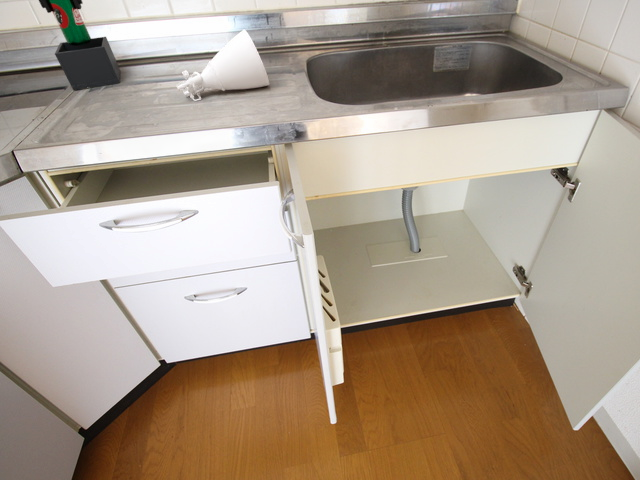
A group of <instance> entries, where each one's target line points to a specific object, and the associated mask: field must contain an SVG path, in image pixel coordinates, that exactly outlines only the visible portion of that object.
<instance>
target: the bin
mask: <svg viewBox="0 0 640 480" xmlns="http://www.w3.org/2000/svg"><path fill="white" fill-rule="evenodd" d="M54 56H55V57H56V59H57V61H58V64H59V65H60V67H61V69H62V71H63V73H64V75H65V77H66V80H67V81H68V84H69V85H70V87H71V89H72V91H74V90H75V91H77V90H76V89H81V88H87V87H90V88H89V89H93V88H99V87H104V86H110V85H117V84H120V83H121V69H120V67H119V64H118V62H117V59H116V56H115V54H114V52H113V50H112V47H111V45H110V43H109V40H108V38H107V36H101V37H94V38H91V41H90V42H89V43H87V44H84V45H77V46H73V45H70V44H69V43H67V41H62V42H59V44H58V46H57V48H56V50H55V52H54ZM87 89H88V88H87ZM81 90H82V89H81Z"/></svg>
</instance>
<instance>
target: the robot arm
mask: <svg viewBox="0 0 640 480" xmlns="http://www.w3.org/2000/svg"><path fill="white" fill-rule="evenodd" d="M38 2H39V5H40V6H41V8H42V9H45V10H46V12H47V14H50V13H53V12H52V10H51V8H50V6H49V4H48V2H47V0H38ZM73 2H74V4H75V6H76V9H78V10H81V9H82V5H83V0H73Z"/></svg>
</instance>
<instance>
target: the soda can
mask: <svg viewBox="0 0 640 480" xmlns="http://www.w3.org/2000/svg"><path fill="white" fill-rule="evenodd" d="M47 2H48V4H49V6H50V8H51V10H52V12H51V13H52V14H53V16H54V19H55V20H56V22H57V24H58V26H59V29H60V32H61V34H62V35H63V37H64V39H65V42H67V43H69V44H70V45H73V46H77V45H84V44H87V43H89V42H90V41H91V39H92V38H91V35H90V33H89V30H88V28H87V25H86V24H85V22H84V19H83V17H82V15H81V12H80V9H76V6H75V4H74V2H73V0H47Z"/></svg>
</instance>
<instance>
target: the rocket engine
mask: <svg viewBox="0 0 640 480" xmlns="http://www.w3.org/2000/svg"><path fill="white" fill-rule="evenodd" d="M253 41H254V40H253V39H252V37H251V36H250V34H249V32H248V30H246V29H242V30H241V31H240V32H238V33H237V34H236V35H235V36H233V37H232V38H231V39H230V40H229V41H228V42H226V44H225V45H223V47H222V48H221V49H219V51H218V52H217V53H216V54H215V55H214V56H213V58H211V60H208V63H207V65H205V67H204V68H203V69H202V71H201V73H200V72H198V71H193V73H192V74H191V75H190V73H189V72H188V70H187V69H185V70H184V71H182V72H181V73H182V75H183V78H184V80H183V79H182V81H181V82H177V84H176V88H177V90H178V91H179V92H181V91H182V93H183V94H184V96H185V97H186V98H188V97H190V99H192V101H193V102H197V101H201V100H202V97H201V93H203V92H204V91H205V90H207V89H208V90H209V89H211V90H218V91H219V90H221V91H223V92H225V91H226V90H230V91H231V90H247V89H248V90H249V89H257V88H262V87H268V86H270V80H269V76H268V73H267V71H266V67H265V64H264V63H263V61H262V57H261V56H260V53H259V52H258V49H257V47H256V45H255V43H254V42H253ZM194 95H196V96H197V97H198V98H197V99H195V96H194Z"/></svg>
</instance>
